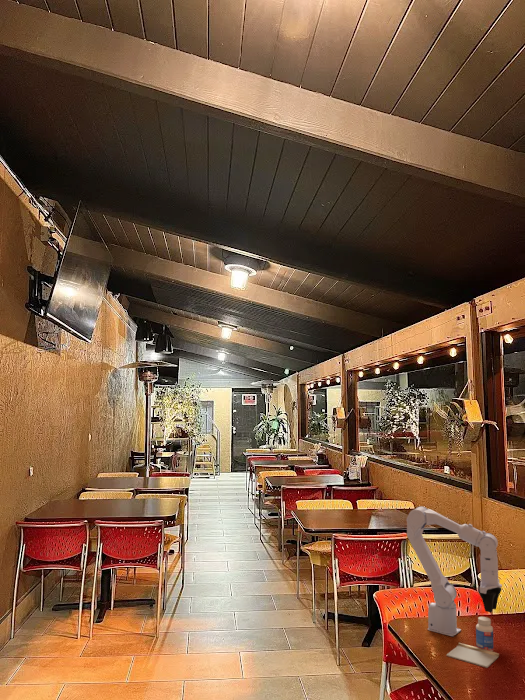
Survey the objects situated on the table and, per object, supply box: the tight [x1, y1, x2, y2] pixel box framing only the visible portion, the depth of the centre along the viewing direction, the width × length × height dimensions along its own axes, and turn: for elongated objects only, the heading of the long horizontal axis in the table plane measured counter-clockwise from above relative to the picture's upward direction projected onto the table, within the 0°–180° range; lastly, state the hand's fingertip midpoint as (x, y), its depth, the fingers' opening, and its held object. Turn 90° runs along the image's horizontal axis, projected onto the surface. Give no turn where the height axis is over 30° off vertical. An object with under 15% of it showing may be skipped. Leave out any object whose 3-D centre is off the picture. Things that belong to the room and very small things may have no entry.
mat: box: [446, 644, 499, 669], centre depth 182 cm, size 13×10×1 cm
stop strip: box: [457, 642, 500, 658], centre depth 186 cm, size 13×1×1 cm, turn 49°
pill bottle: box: [475, 616, 494, 652], centre depth 188 cm, size 6×5×10 cm
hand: (490, 610), depth 197 cm, fingers open, 3 cm apart
